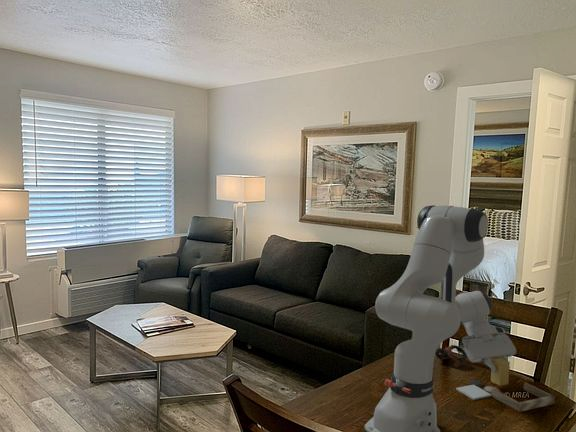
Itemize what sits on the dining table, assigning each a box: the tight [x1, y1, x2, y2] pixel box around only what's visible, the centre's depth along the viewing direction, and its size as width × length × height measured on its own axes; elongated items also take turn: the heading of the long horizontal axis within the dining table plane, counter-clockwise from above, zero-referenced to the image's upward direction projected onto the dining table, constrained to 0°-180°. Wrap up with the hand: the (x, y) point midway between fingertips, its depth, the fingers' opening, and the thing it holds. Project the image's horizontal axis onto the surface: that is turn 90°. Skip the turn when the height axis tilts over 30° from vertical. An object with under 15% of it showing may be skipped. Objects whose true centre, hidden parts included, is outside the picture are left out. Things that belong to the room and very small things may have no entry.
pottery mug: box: [434, 344, 468, 369], centre depth 178 cm, size 12×10×8 cm
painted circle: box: [483, 385, 501, 394], centre depth 155 cm, size 5×5×1 cm
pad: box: [455, 384, 492, 401], centre depth 153 cm, size 8×8×1 cm
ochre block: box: [490, 358, 511, 386], centre depth 157 cm, size 4×4×8 cm
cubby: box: [491, 382, 556, 413], centre depth 148 cm, size 16×11×2 cm
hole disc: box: [468, 379, 485, 388], centre depth 160 cm, size 5×5×1 cm
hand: (501, 370), depth 156 cm, fingers closed on ochre block, 4 cm apart
